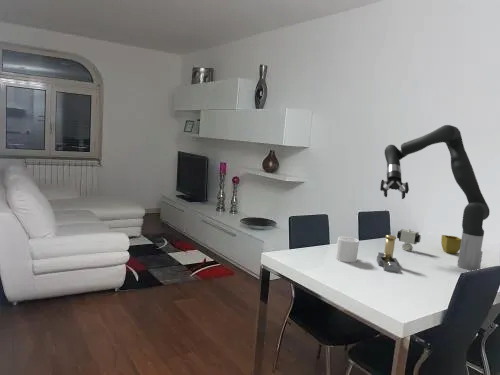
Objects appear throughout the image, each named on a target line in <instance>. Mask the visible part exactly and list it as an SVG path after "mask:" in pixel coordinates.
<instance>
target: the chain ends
mask: <svg viewBox="0 0 500 375" xmlns="http://www.w3.org/2000/svg"><path fill="white" fill-rule="evenodd" d="M383 259H384V252H378V253H377V256H376V263H377V264H378V266H379V267H381V268H382V269H383V271H386V272H391V273H392V272H393V273H399V268H400V262H399V261H398V259H397V258H396V257H393V258H392V262H391V261H383Z"/></svg>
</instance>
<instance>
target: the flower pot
mask: <svg viewBox="0 0 500 375" xmlns="http://www.w3.org/2000/svg"><path fill="white" fill-rule="evenodd" d="M461 239H462V238H460V237H458V236H455V235H454V236H453V235H447V234H446V235H445V234H441V248H442V250H443V251H444V252H445V253H447V254H453V255H456V254H458V253H459V251H460V245H461Z"/></svg>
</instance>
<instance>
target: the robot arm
mask: <svg viewBox="0 0 500 375" xmlns="http://www.w3.org/2000/svg"><path fill="white" fill-rule="evenodd" d="M462 137H463V136H462V133H461V131H460V129H459V128H458V127H456V126H454V125H451V124H445V125H442V126H441V127H438V128H437V129H435V130H433V131H431V132H429V133H427V134H424V135H423V136H419V137H417V138H414V139H411V140H409V141H405V142H403V143H402V144H400V149H399V148H398V147H397V145H395V144H389V145H387V146H386V147H385V148H384V157H385V161H386V180H384V179H381V180H380V181H381V182H380V187H379V188H380V189H379V190H380V192H383V196H384V197H385V198H388V191H389V190H395V191H398V192H400V193H401V200H404V199H405V198H406V194H408V193H409V191H410V188H409V182H408V181H406V182H403V180H402V169H401V160H402V159H404V158H405V157H407V156H408V155H411V154H414V153H417V152H419V151H421V150H424V149H425V148H427V147H429V146H432V145H436V144H441V143H445V145H446V147H447V149H448V151H449V155H450V168H451V171H452V175H453V177H454V181H455V182H456V184H457V185H458V186H459V188H460V189H461V191H462V192H463V193H464V195H465V197H466V200H467V203H468V204H466V205H465V207H464V209H463V214H462V223H461V227H462V233H461V238H460V239H461V245H460V250H459V251H458V253H459V254H458V258H457V267H459V268H461V269H465V270H468V271H476V270H475V269H480V270H481V265H482V259H483V251H482V247H483V242H484V235H485V231H484V228H483V224H484V223H483V222H484V221H485V220H486V219H488V217H489V216H490V207H489V205H488V203H487V202H486V199H485V197H484V195H483V193H482V191H481V188H480V185H479V182H478V180H477V177H476V174H475V172H474V168H473V166H472V164H471V161H470V159H469V156H468V154H467V152H466V149H465V147H464V146H465V145H464V141H463V138H462ZM384 185H386V186H385V187H384Z"/></svg>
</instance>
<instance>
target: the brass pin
mask: <svg viewBox="0 0 500 375" xmlns="http://www.w3.org/2000/svg"><path fill="white" fill-rule="evenodd" d="M396 240H397V235H391V234H385V246H384V252H383V253H384V259H383V261H391V262H392V258H394V252H395V251H394V250H395V243H396V242H395V241H396Z"/></svg>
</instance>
